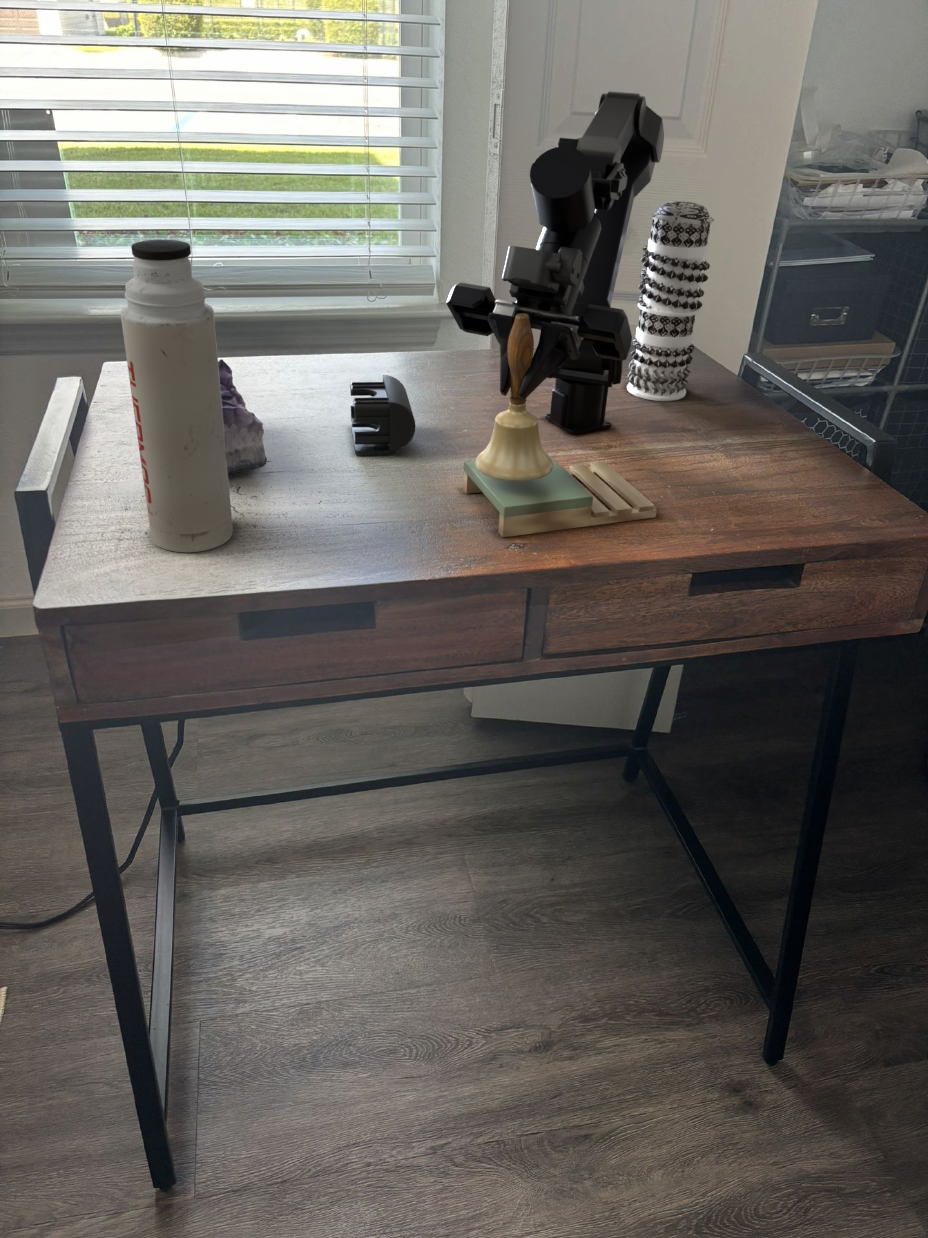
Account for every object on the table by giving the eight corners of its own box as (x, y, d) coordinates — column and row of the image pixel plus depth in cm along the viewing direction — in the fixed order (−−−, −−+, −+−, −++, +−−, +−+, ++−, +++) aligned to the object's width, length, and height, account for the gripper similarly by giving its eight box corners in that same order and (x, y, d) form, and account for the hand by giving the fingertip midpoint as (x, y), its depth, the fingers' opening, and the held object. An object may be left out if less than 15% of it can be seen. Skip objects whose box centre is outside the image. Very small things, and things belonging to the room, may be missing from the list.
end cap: (415, 456, 119) (416, 402, 116) (355, 457, 118) (354, 403, 115) (406, 425, 128) (407, 373, 124) (350, 426, 127) (350, 374, 123)
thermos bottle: (144, 553, 97) (101, 252, 82) (158, 515, 103) (121, 231, 89) (228, 552, 98) (200, 254, 83) (237, 516, 104) (213, 234, 89)
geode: (148, 426, 124) (149, 345, 119) (243, 430, 128) (247, 352, 123) (161, 488, 107) (163, 397, 103) (269, 490, 112) (275, 403, 107)
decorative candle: (610, 386, 144) (633, 200, 130) (655, 375, 149) (682, 195, 135) (656, 406, 138) (685, 213, 124) (701, 394, 143) (734, 208, 129)
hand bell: (562, 456, 108) (572, 307, 100) (540, 487, 102) (549, 330, 93) (490, 445, 111) (493, 299, 102) (464, 474, 104) (465, 320, 95)
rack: (606, 472, 118) (609, 445, 116) (656, 517, 108) (660, 487, 107) (462, 489, 112) (464, 460, 110) (502, 537, 103) (504, 506, 101)
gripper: (457, 198, 99) (403, 339, 96) (639, 223, 92) (586, 374, 90) (486, 264, 109) (438, 392, 107) (651, 290, 103) (604, 427, 100)
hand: (511, 395), depth 101 cm, fingers closed on hand bell
